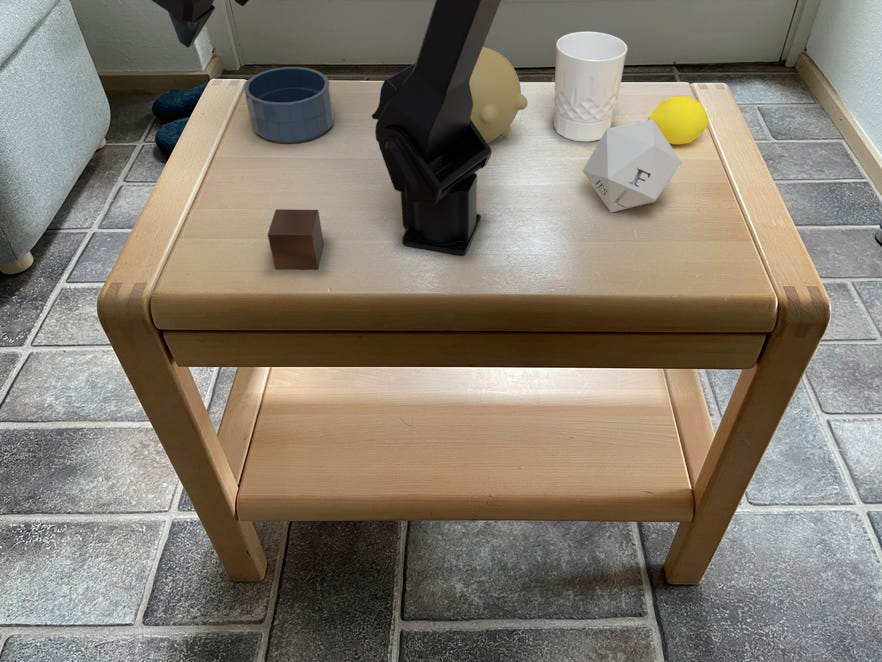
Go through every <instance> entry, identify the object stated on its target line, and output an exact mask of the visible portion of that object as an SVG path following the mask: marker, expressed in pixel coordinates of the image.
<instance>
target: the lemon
mask: <svg viewBox="0 0 882 662" xmlns="http://www.w3.org/2000/svg"><path fill="white" fill-rule="evenodd" d="M652 119H653V121H654V122H655V124H656V125H657V126H658V128H659V129H660V131H661V132H662V134H663V135H664V137H665V138H666V140H667V141H668V143H669V144H670V145H685V144H690V143H691V142H693V141H694V140H696V139H698V138H699V137H700V136H702V134H703V133H704V132H705V130H706V129H707V128H708V126H709V124H710V119H709V116H708V113H707V111H706V108H705V107H704V105H703V104H702V103H701V102H699V101H698V100H697V99H696V98H693V97H691V96H689V95H675V96H670V97H668V98H667V99H666V98H665V99H664V100H662V101H660V103H659V104H658V105H657V106H656V108H655V109H654V110H653V111H651V113H650V114H649V115H648V116H647V120H652Z"/></svg>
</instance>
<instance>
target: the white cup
mask: <svg viewBox="0 0 882 662" xmlns="http://www.w3.org/2000/svg"><path fill="white" fill-rule="evenodd" d="M555 44H556V45H555V67H554V97H553V98H554V99H553V101H554V103H553V104H554V115H553V116H554V117H553V118H554V119H553V128H554V130H555V131H556V133H557V134H558V135H560V136H561V137H562V138H565V139H567V140H571V141H575V142H587V143H588V142H595V141H600V140H601V138H602V136H603V134H604V133H605V131H606V129H607V128H612V127H611V126H612V122H613V117H614V113H615V111H616V107H617V101H618V98H619V93H620V88H621V84H622V79H623V73H624V68H625V63H626V59H627V53H628V45H627V44H626V42H624V40H622V39H621V38H619V37H617V36H614V35H612V34H608V33H605V32H598V31H576V32H570V33H567V34H565V35H563V36H561V37H560V38H559V39H558V40H557V41H556V43H555Z"/></svg>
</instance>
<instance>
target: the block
mask: <svg viewBox="0 0 882 662" xmlns="http://www.w3.org/2000/svg"><path fill="white" fill-rule="evenodd" d="M267 238H268V242H269V248H270V251H271V255H272V256H271V257H272V260H273V264H274V268H275V270H319V266H320V262H321V258H322V252H323V250H324V245H325V242H324V237H323V230H322V223H321V218H320V212H319V209H291V208H289V209H287V208H284V209H283V208H279V209H277V208H276V209H275V211H274V214H273V217H272V220H271V223H270V225H269V229H268V231H267Z"/></svg>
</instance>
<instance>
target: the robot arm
mask: <svg viewBox="0 0 882 662" xmlns="http://www.w3.org/2000/svg"><path fill="white" fill-rule="evenodd" d="M249 1H250V0H234V2H235V3H236V4H238V5H240V6H241V7H244V6H245V5H246V4H248V2H249ZM151 2H153V3H155V4H156V5H158V6H159V7H161V8H162V9H164V10H165V11H167V13H168V15H169V18H170V21H171V23H172V26H173V29H174V32H175V34H176V37H177V39H178V42H179V43H180V44H181V45H183V46H184V47H186V48H190V47H192V46H193V44H194V42H195V41H196V40H197V38H198V37H199V35H200V34H201V32H202V30H203V28H205V25H206V24H207V22H208V20H209V19H210V17H211V16H212V14H213V13H214V11H215V9H216V6H215V5H213V4H214V2H215V0H151ZM501 2H502V0H434V4H433V7H432V10H431V14H430V17H429V20H428V23H427V27H426V29H425V32H424V36H423V39H422V42H421V46H420V49H419V52H418V55H417V58H416V61H415V62H414V63H413V64H411V65H409V66H408V67H406V68H404V69H402V70H400V71H399V72H397V73H395V74H393V75H392V76H390V77H388V78H386V79H384V81H383V83H382V85H381V88H380V93H379V102H378V106H377V108H376V110H375V112H373V113H372V114H371V118H372V119H373V120H375V121H376V123H375V141H376V142H377V143H378V148H379V150H380V153H381V156H382V159H383V162H384V164H385V167H386V170H387V172H388V175H389V178H390V181H391V183H392V187H393V189H394V190H395V191H396V192H399V193H400V205H401V220H402V227H403V229H405V230H406V231H405V233H404V234H403V236H402V238H401V243H402V244H403V245H405V246H409V247H414V248H419V249H425V250H426V249H427V250H432V251H437V252H443V253H444V252H445V253H449V254H455V255H460V256H461V255H466V254H467V252H468V250H469V248H470V245H471V243H472V242H473V239H474V237H475V235H476V232H477V230H478V228H479V226H480V224H481V222H482V216H481V215H480V214H479V213H477V209H478V208H477V206H478V205H477V202H478V199H477V196H478V174H477V172H478V171H479V170H481V169H484V168H485V167H486V166H487V165H488V163H489V160H490V158H491V155H492V148H491V147H490V146H489V144H488V142H486V141H485V140H484V138H483V137H482V135H481V134H480V132H479V131H478V129H477V128H476V126H475V125H474V123H473V122H472V120H471V119H470V118H471V113H472V108H473V98H472V94H471V89H470V84H469V82H470V78H471V75H472V72H473V70H474V67H475V65H476V62H477V60H478V57H479V55H480V52H481V50H482V47H484V45H485V43H486V40H487V37H488V34H489V32H490V29H491V27H492V25H493V23H494V19H495V17H496V15H497V12H498V9H499V7H500V5H501Z"/></svg>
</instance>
